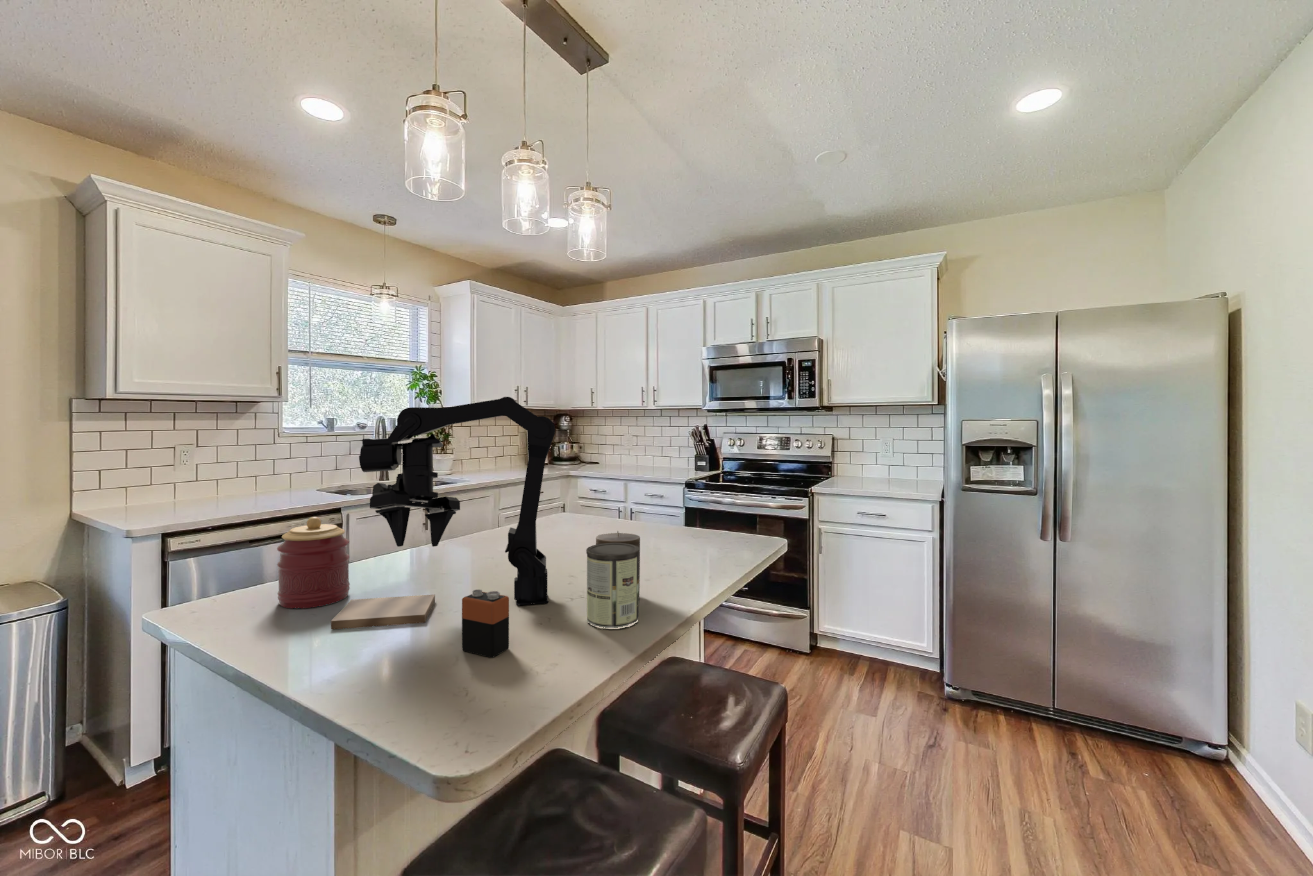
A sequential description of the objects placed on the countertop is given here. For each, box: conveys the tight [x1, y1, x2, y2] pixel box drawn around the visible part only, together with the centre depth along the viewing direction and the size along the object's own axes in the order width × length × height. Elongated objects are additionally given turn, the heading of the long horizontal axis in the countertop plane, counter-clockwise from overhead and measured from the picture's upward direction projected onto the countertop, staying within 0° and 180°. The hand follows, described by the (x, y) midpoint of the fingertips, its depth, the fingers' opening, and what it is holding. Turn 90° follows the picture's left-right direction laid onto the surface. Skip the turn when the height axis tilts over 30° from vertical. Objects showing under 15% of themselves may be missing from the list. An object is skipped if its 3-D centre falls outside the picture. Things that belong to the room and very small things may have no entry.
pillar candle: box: [595, 530, 641, 589], centre depth 117 cm, size 10×10×15 cm
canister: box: [276, 516, 351, 610], centre depth 115 cm, size 13×13×18 cm
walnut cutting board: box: [330, 594, 436, 630], centre depth 107 cm, size 16×12×2 cm
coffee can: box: [585, 543, 641, 628], centre depth 105 cm, size 10×10×14 cm
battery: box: [461, 589, 510, 658], centre depth 91 cm, size 4×7×10 cm, turn 66°
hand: (418, 546), depth 107 cm, fingers open, 9 cm apart
